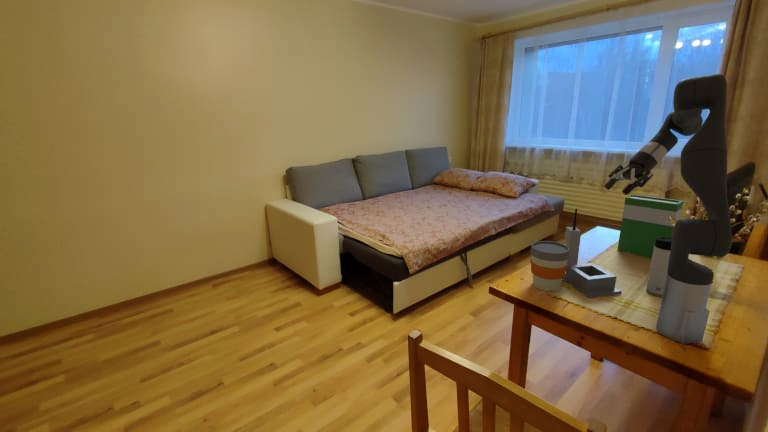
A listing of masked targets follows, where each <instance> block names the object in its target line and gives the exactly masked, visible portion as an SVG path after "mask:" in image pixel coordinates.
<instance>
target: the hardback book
mask: <svg viewBox="0 0 768 432" xmlns="http://www.w3.org/2000/svg"><path fill="white" fill-rule="evenodd" d="M683 205H684V200H681V199H672V198H663V197H658V196H657V197H655V196H647V195H641V194H630V197H628V196H626V197H625V199H624V204H623V211H622V216H621V217H622V218H621V225H620V232H619V237H618V244H617V251H619V252H623V251H624V252H623V253H627V254H632V255H636V256H641V257H644V258H649V259H652V256H653V250H654V245H655V241H656V238H661V237H671V238H672V234H673V229H674V226H673V225H671V223H670V224H669V222H670V221H671V219H670V218H669V217H670V216H672V217H674V218H675V219H676V220H677V221H678V220H679V219H681V215H682V209H683ZM661 216H662V217H661ZM659 217H660V218H659ZM666 220H667V222H668V221H669V222H668V223H666Z"/></svg>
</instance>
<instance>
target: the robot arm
mask: <svg viewBox="0 0 768 432" xmlns="http://www.w3.org/2000/svg"><path fill="white" fill-rule="evenodd" d="M727 95H728V82H727V78H726V76H725V75H724V74H722V73H715V74H714V73H712V74H707V75H701V76H700V75H699V76H694V77H693V76H692V77H688V78H684V79H681V80H680V81H678V82H677V83H676V85H675V88H674V91H673V99H672V101H673V103H672V105H673V110H672V111H670V112H669V114H667V115H666V118H665V119H664V122H663V123H662V125H661V127H660V129H659V130H658V132H657V133H656V134H655V135H654V136H653V137H652V138H651V139H650V140H649V141H648V142H647V143H646V144H645V145H644V146H642V147H641V149H639V150H638V151H637V152H636V153H635V154H634V155H633V156H632V157H631V158H630V160H629V162H628V164H627V165H626V166H623V165H622V164H619V165H617V167H615V168H614V169H613V171H611V172H610V173H609V174H608V177H609V180H608V181H607V183H605V184H604V188H605V189H606V190H608V191H610V190H611V188H612V187H614V185H615V184H616V183H618V182H621V181H625V180H626V181H630V183H628V184H627V185H626V186H625V187H624V188H623V189H622V190H621V192H622V194H623V195H626V196H627V195H629V194H630V193H632V191H633V190H634V189H636V188H643V187H644V186H645V185H646V184H647V183H648V182H649V181H650V180H652V179H651V178H653V177H654V175H653V173H652V170H654V168H655V167H656V166H657V165H658V164H659V163H660V162H661V161H662V160H663V159H664V158H665V156H667V154H668V153H669V152H670V151H671V150H672V149H673V148H674V147H676V145H677V144H678V142H679V139H678V137H677V136H676V134H674V133H673V132H672V131H674V132H675V133H677V134H679V135H681V136H684V137H690V136H691V137H690V138H689V139H688V140H687V142H686V143H685V145H684V146H683V148H682V149H681V151H680V152H681V153H680V175H681V177H682V179H683V181H684V182H685V183H686V184H687V186H688V187H689V188H690V189H691V191H692V192H693V193H695V195H696V196H697V198H698V199H699V200H700V202H701V203H702V205H703V206H704V209H705V211H706V215H707V219H704V218H703V219H700V218H687V217H685V218H683V217H682V218H680V219H679V220H678V221H677V222H676V224H675V226H674V229H673V234H672V243H671V251H670V256H669V263H668V270H667V275H666V280H665V285H664V290H663V295H662V297H661V299H660V307H659V311H658V316H657V322H656V325H655V328H656V330H657V332H658V333H659V334H660V335H662V336H664V337H666V338H667V339H669V340H672V341H675V342H678V343H680V345H687V344H693V343H694V344H696V343H701V342H703V341H704V336H705V331H706V327H707V325H708V319H709V316H710V309H707V305H708V301H709V296H710V292H711V289H712V285H713V280H714V276H715V273H714V272H713V270H712V269H711V268H709V267H707V266H706V265H705V264H702V263H699V262H696V261H694V260H692V259H690V258H689V255H694V256H704V257H716V258H722V257H723V258H724V257H725V256H727V255H728V254H729V253H730V250H731V248H732V241H733V232H732V224H731V216H730V209H729V202H728V188H727V187H728V152H727V151H728V150H727V140H726V139H727V137H726V113H727V98H728V96H727ZM704 110H709V113H708V115H707V117H706V118H705V120H703V116H702V113H703V111H704ZM703 121H704V122H703Z"/></svg>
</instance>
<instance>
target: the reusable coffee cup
mask: <svg viewBox="0 0 768 432" xmlns="http://www.w3.org/2000/svg"><path fill="white" fill-rule="evenodd" d="M530 255H531V258H530V271H531V273H532V283H533V284H532V285H533V286H534V288H536V289H538V290H540V291H544V292H557V291H559V290H560V289H561V286H562V283H563V277H564V276H565V274H566V269H567V265H568V264H567V260H568V258H569V247H567V246H566V245H565V244H564V243H561V242H558V241H552V240H541V241H540V240H538V241H534V242H533V243H531V247H530Z"/></svg>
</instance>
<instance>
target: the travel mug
mask: <svg viewBox="0 0 768 432" xmlns="http://www.w3.org/2000/svg"><path fill="white" fill-rule="evenodd" d="M671 243H672V238H671V237H661V238H656V241H655V245H654V250H653V256H652V258H651V263H650V267H649V273H648V279H647V283H646V290H645V291H646V293H648V294H650V295H652V296H654V297H658V298H662V295H663V290H664V285H665V280H666V275H667V270H668V263H669V256H670V251H671Z"/></svg>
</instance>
